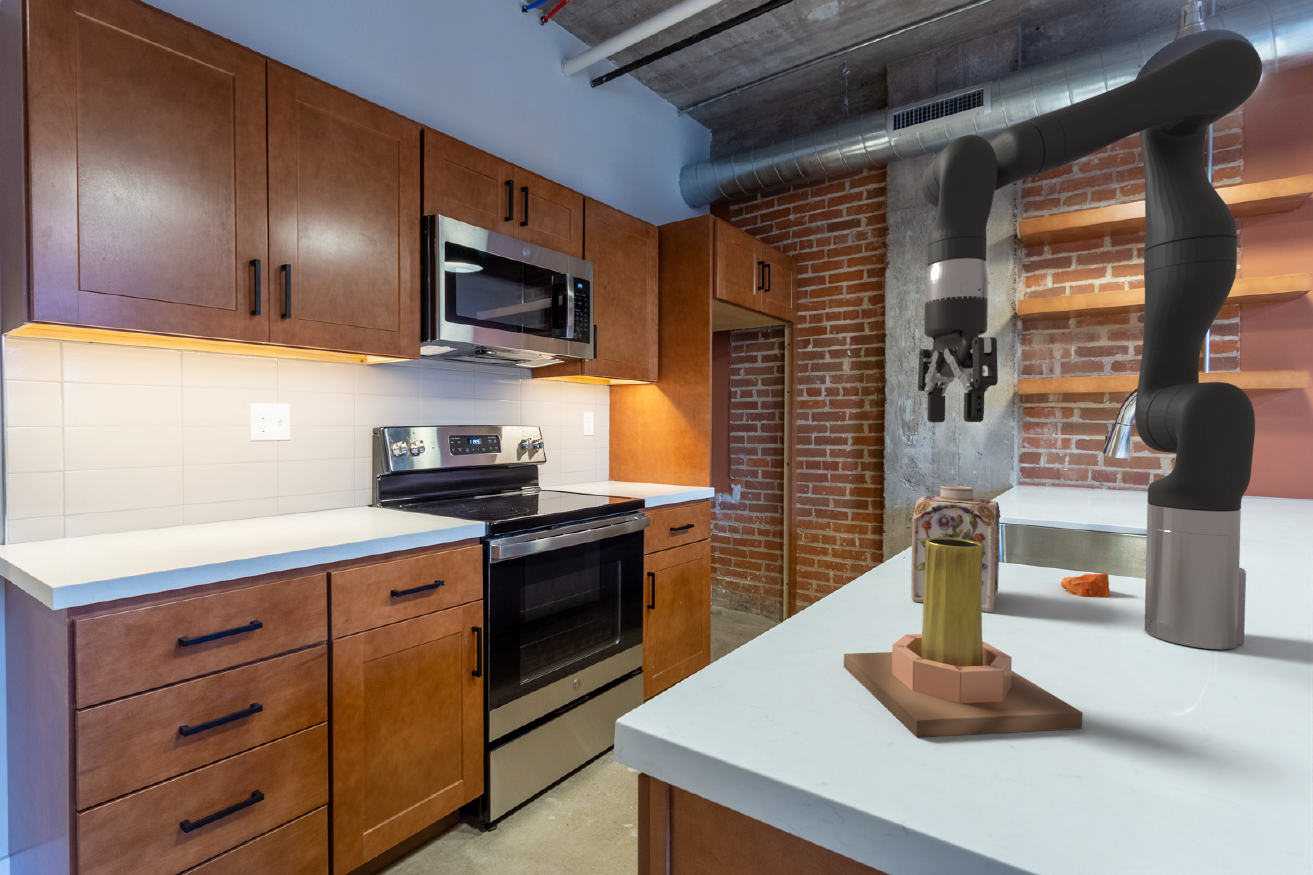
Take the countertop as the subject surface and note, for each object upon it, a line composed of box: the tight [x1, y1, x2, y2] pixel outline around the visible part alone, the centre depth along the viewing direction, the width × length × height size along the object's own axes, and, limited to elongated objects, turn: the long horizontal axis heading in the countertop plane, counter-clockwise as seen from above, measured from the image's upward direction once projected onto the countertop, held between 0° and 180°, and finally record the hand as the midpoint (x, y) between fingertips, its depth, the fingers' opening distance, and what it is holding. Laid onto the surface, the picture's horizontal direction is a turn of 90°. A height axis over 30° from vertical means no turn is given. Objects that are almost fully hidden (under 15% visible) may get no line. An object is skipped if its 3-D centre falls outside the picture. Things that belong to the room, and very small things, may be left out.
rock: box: [1060, 572, 1111, 598], centre depth 103 cm, size 12×12×4 cm
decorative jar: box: [910, 485, 1001, 614], centre depth 99 cm, size 12×12×18 cm
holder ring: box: [891, 633, 1013, 703], centre depth 64 cm, size 10×10×3 cm
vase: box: [921, 537, 983, 667], centre depth 64 cm, size 6×6×14 cm
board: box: [843, 651, 1083, 738], centre depth 64 cm, size 16×16×2 cm
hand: (953, 422), depth 83 cm, fingers open, 8 cm apart
